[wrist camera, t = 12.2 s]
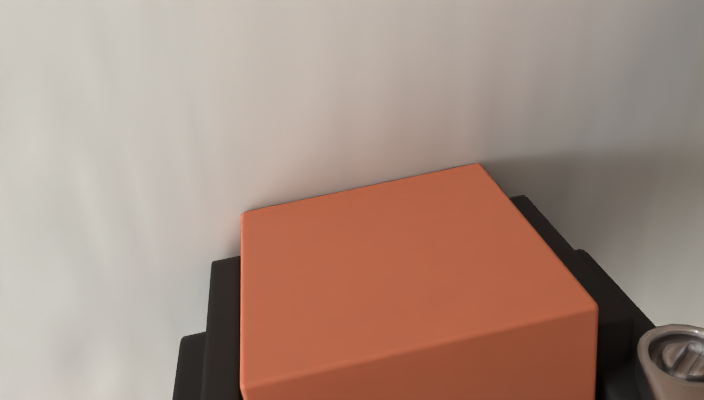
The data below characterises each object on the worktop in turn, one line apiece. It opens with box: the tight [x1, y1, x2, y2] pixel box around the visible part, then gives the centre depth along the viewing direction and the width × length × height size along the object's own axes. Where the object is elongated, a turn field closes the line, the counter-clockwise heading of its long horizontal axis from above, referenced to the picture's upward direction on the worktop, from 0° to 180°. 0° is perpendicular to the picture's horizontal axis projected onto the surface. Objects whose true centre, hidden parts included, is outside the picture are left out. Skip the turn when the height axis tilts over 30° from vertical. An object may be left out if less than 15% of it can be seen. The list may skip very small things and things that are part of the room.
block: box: [240, 163, 598, 400], centre depth 11 cm, size 4×4×4 cm
